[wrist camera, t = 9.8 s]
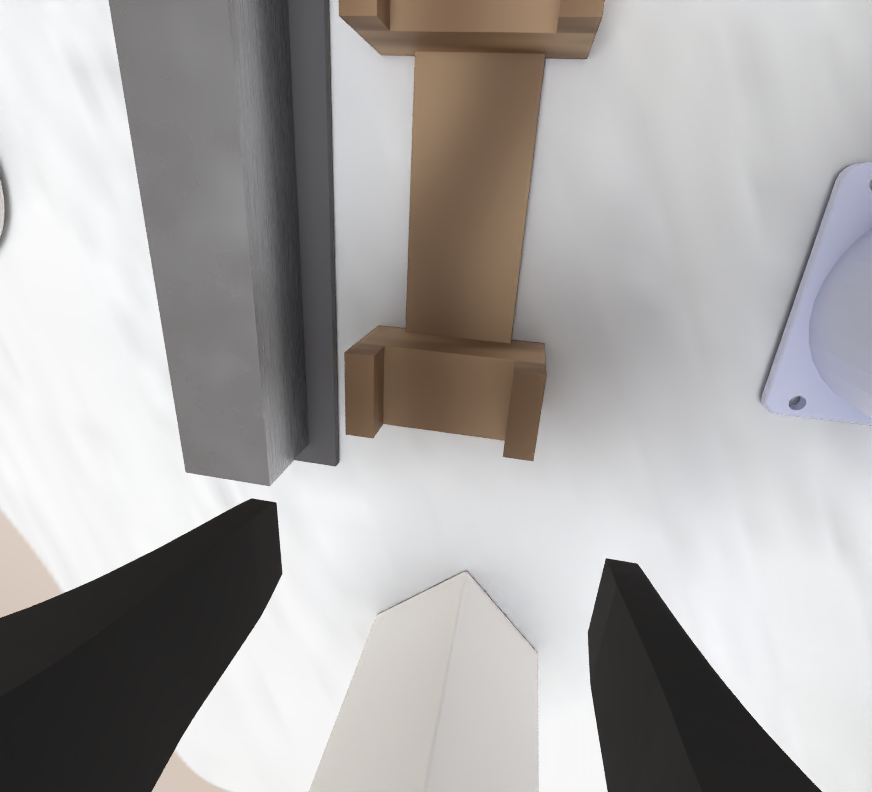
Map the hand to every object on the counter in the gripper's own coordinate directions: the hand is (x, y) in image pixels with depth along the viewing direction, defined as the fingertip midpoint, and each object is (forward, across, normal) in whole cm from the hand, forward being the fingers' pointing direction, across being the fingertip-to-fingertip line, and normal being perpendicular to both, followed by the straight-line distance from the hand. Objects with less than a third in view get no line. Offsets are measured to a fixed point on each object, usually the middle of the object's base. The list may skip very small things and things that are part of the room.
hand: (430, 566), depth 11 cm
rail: (+10, +9, -7) cm, 15 cm away
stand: (+10, +1, -7) cm, 12 cm away
